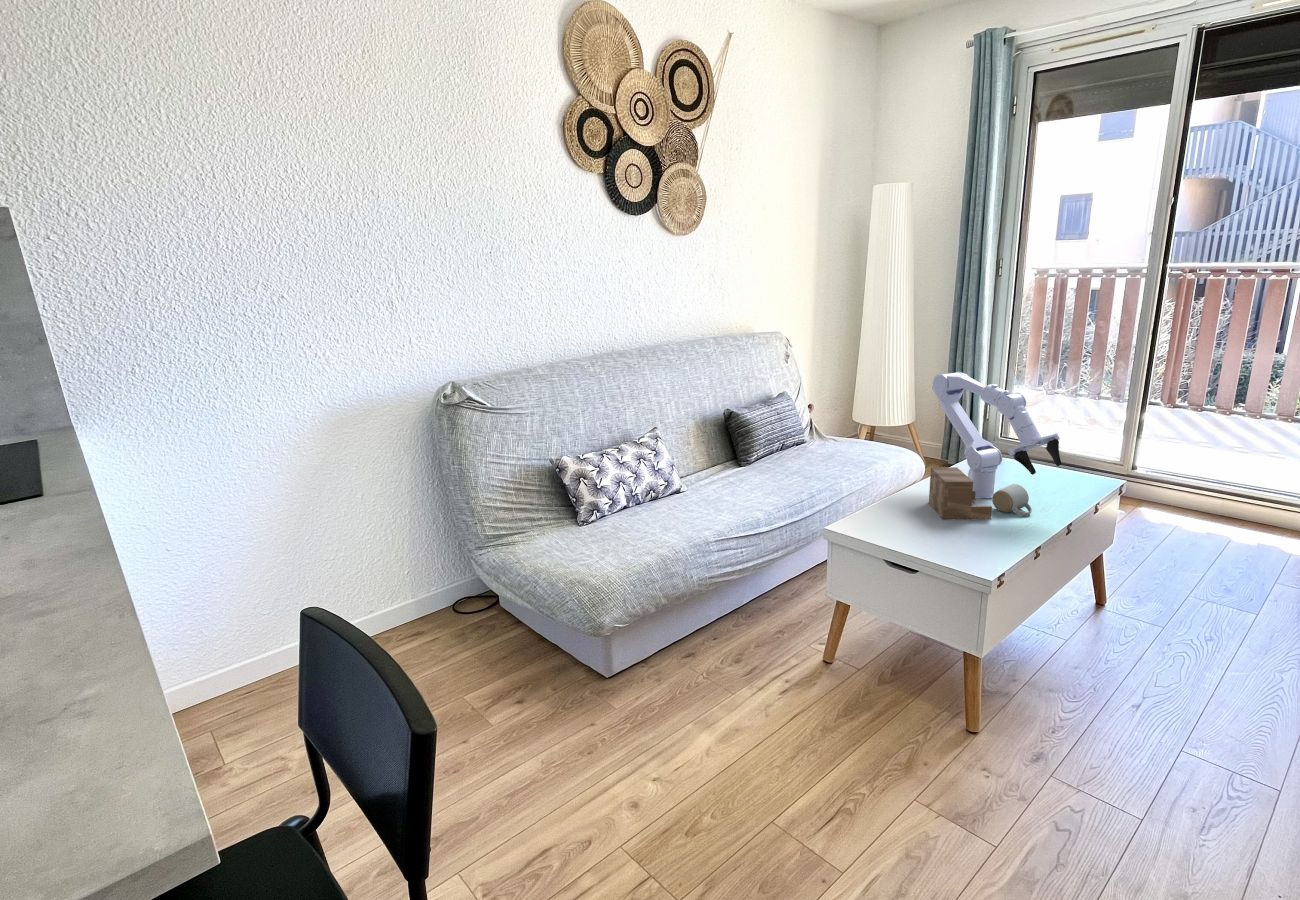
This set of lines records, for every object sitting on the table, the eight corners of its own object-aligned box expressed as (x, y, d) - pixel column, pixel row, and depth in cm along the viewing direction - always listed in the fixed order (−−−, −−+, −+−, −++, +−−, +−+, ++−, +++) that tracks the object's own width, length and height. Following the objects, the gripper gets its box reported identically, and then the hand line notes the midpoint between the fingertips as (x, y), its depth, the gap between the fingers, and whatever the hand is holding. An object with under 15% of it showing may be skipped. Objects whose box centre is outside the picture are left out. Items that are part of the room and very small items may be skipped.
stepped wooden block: (928, 503, 227) (930, 467, 224) (973, 502, 225) (976, 467, 222) (942, 519, 212) (945, 481, 209) (990, 519, 211) (994, 481, 208)
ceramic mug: (989, 509, 219) (991, 486, 217) (1005, 503, 223) (1007, 481, 221) (1021, 519, 210) (1024, 495, 208) (1037, 513, 214) (1040, 490, 212)
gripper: (1005, 432, 210) (1026, 473, 205) (1053, 416, 208) (1075, 457, 203) (999, 440, 216) (1019, 480, 211) (1045, 424, 215) (1067, 464, 210)
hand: (1046, 469), depth 208 cm, fingers open, 7 cm apart
